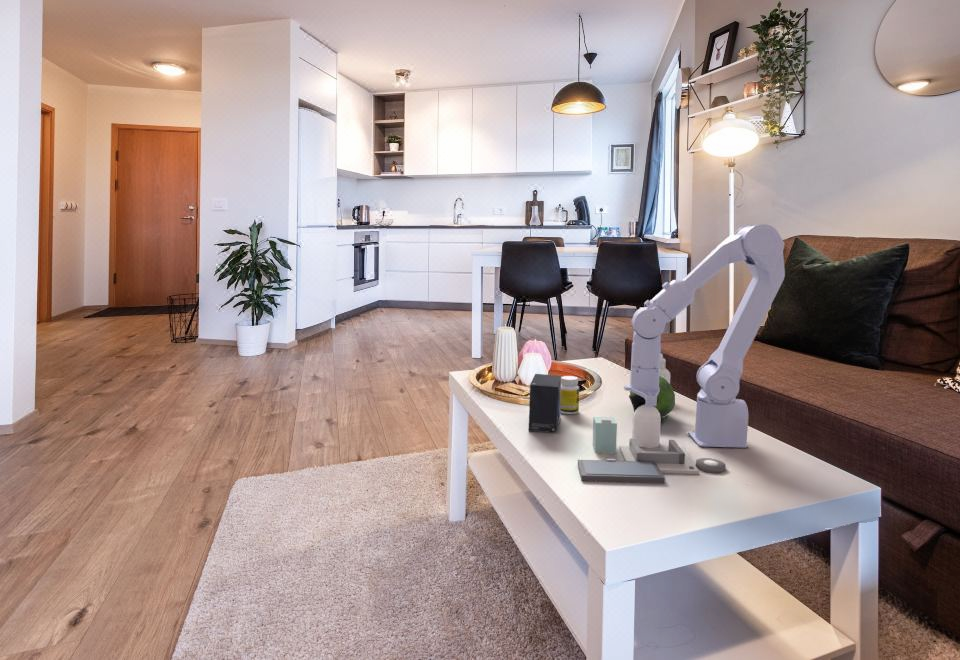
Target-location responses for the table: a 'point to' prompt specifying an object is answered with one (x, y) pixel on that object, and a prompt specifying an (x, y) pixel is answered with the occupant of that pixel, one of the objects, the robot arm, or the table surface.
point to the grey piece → (661, 458)
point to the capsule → (646, 426)
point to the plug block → (604, 434)
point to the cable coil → (710, 465)
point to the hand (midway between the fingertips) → (641, 429)
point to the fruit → (664, 397)
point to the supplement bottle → (569, 395)
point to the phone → (620, 471)
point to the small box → (545, 403)
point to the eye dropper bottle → (664, 369)
